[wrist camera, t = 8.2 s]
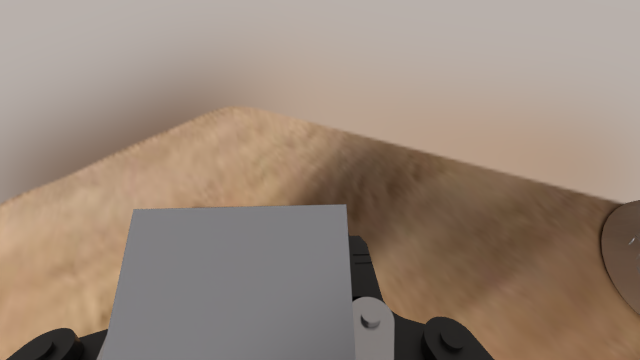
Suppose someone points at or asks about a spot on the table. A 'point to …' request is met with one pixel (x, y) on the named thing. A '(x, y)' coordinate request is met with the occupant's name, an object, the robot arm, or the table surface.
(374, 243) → the table surface
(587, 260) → the table surface
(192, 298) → the sanding block
